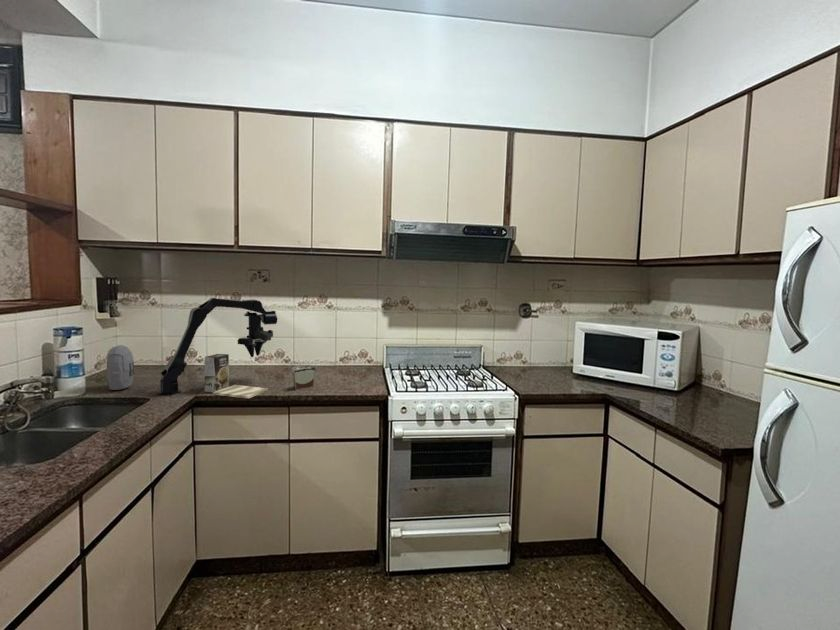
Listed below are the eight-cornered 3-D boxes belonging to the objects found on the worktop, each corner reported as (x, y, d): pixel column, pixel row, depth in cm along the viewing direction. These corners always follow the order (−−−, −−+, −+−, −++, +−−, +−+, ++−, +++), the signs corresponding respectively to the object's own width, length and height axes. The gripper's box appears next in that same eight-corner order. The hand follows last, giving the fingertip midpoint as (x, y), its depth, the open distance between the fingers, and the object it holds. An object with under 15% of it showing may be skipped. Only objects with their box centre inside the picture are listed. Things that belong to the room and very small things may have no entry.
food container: (309, 383, 210) (309, 364, 209) (316, 386, 206) (316, 366, 205) (286, 387, 201) (286, 367, 200) (292, 390, 197) (292, 369, 196)
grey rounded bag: (119, 384, 199) (118, 342, 197) (139, 383, 201) (138, 342, 199) (105, 393, 184) (103, 348, 183) (126, 392, 186) (125, 347, 185)
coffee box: (216, 392, 190) (216, 357, 188) (204, 391, 191) (203, 356, 190) (229, 387, 199) (229, 354, 197) (217, 386, 200) (217, 353, 198)
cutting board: (213, 394, 187) (213, 392, 187) (234, 386, 200) (234, 384, 200) (248, 398, 182) (248, 396, 182) (267, 390, 196) (267, 388, 196)
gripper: (256, 328, 197) (257, 361, 198) (280, 324, 215) (280, 354, 216) (236, 326, 200) (236, 359, 201) (261, 322, 217) (261, 352, 219)
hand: (255, 356), depth 209 cm, fingers open, 4 cm apart
